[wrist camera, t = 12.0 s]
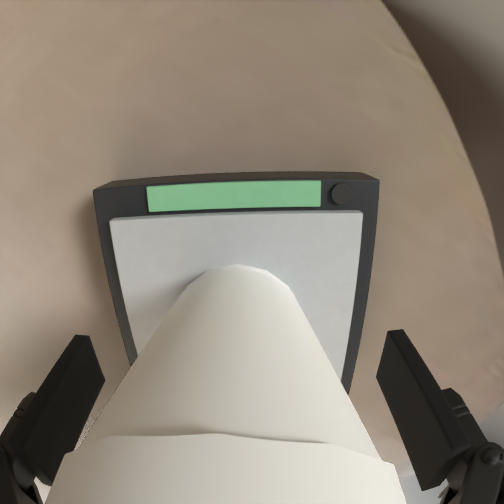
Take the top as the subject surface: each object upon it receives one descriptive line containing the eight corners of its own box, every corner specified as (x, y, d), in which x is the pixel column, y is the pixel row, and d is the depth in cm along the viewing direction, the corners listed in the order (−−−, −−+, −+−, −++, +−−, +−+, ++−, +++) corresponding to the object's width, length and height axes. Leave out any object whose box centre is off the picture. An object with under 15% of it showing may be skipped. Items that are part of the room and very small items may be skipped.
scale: (111, 181, 17) (86, 192, 14) (363, 172, 17) (385, 182, 14) (149, 375, 22) (139, 404, 19) (341, 371, 22) (350, 401, 19)
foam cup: (364, 307, 16) (474, 536, 4) (253, 405, 19) (256, 603, 7) (217, 191, 14) (93, 499, 2) (119, 326, 17) (19, 538, 5)
